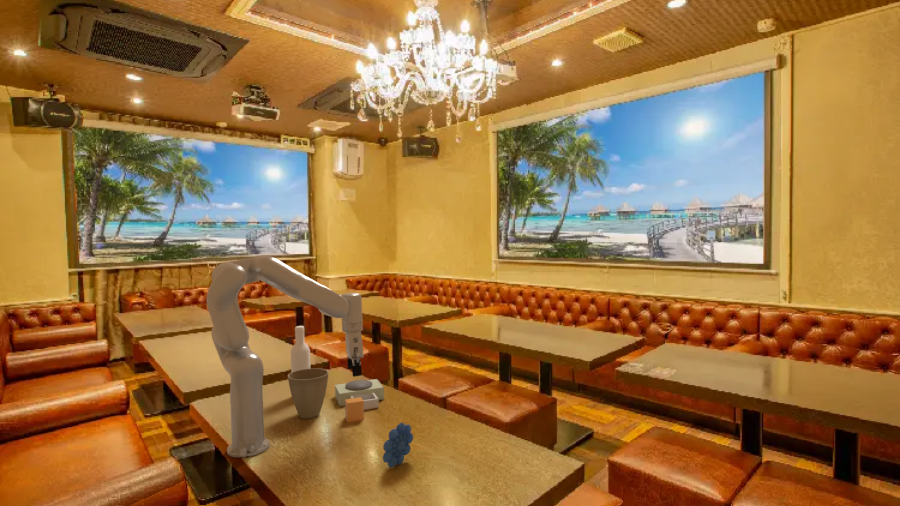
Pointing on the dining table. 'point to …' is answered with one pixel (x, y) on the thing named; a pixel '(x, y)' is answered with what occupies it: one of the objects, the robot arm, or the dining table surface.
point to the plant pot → (308, 390)
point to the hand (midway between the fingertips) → (354, 372)
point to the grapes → (397, 444)
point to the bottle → (300, 351)
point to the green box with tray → (361, 392)
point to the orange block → (354, 409)
